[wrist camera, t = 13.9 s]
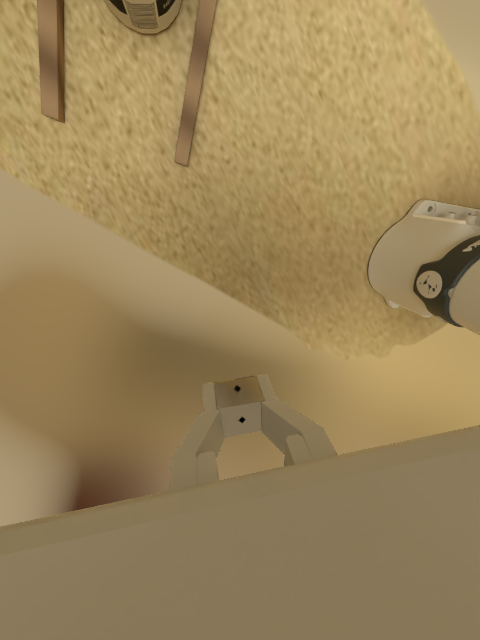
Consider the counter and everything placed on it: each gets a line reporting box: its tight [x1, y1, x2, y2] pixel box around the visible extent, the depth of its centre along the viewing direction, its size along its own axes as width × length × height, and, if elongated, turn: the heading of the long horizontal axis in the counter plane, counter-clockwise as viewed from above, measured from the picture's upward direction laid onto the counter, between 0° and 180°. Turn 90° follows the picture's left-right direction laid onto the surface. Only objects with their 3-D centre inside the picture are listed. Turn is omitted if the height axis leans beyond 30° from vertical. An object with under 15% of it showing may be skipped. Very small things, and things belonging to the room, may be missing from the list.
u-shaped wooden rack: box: [37, 0, 217, 166], centre depth 22 cm, size 22×16×5 cm
